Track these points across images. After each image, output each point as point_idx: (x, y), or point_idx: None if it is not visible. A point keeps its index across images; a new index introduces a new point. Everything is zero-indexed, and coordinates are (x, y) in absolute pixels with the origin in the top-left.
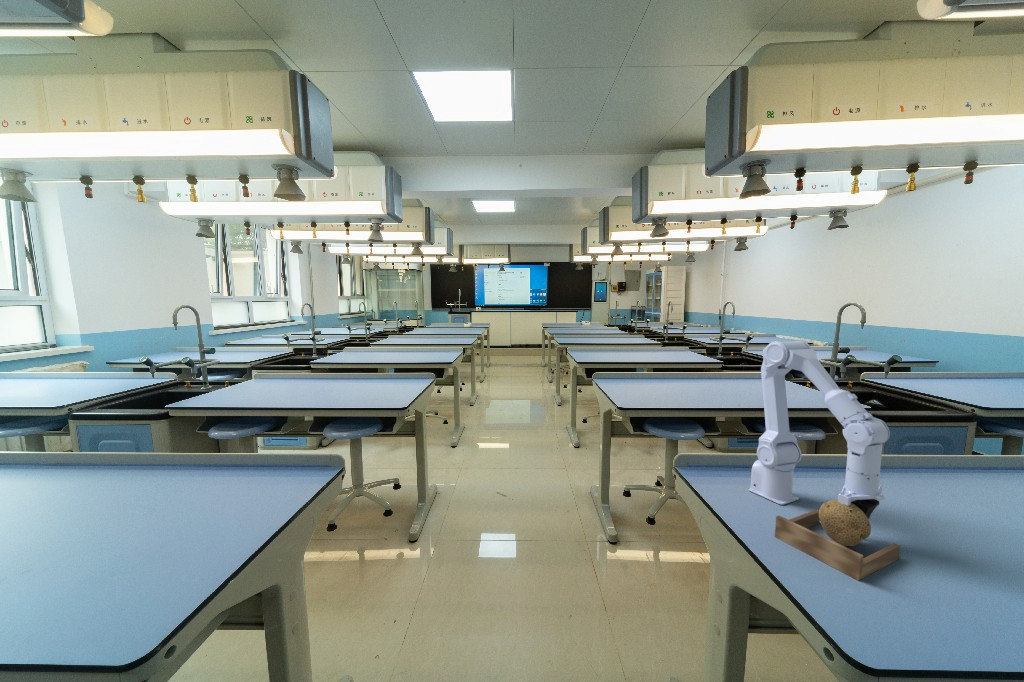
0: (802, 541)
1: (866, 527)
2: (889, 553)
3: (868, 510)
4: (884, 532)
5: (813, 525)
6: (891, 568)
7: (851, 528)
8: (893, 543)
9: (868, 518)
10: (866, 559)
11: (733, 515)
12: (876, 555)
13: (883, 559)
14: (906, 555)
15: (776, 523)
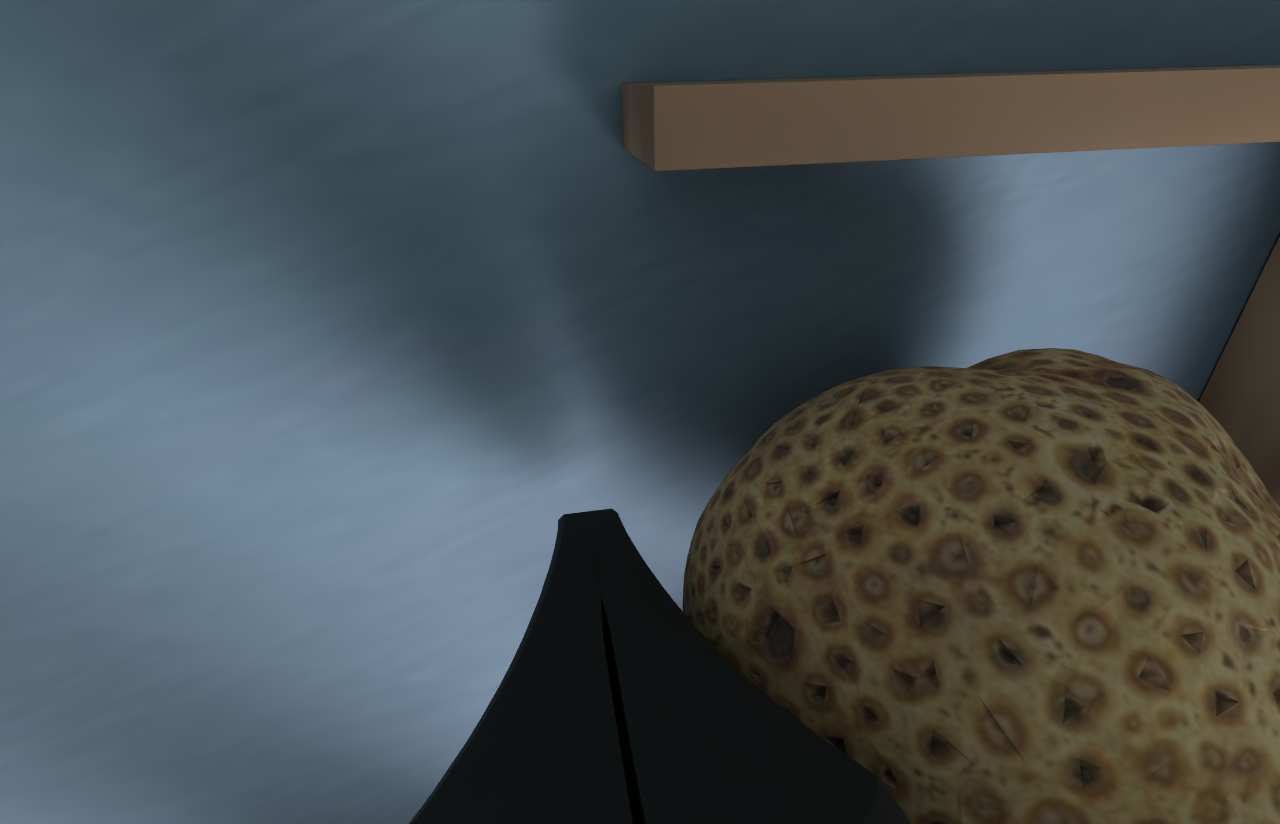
0: None
1: (1128, 437)
2: (954, 76)
3: (772, 739)
4: (148, 458)
5: None
6: (922, 19)
7: (1263, 487)
8: (684, 167)
9: (553, 610)
10: None
11: None
12: (1242, 98)
13: (1064, 72)
14: (430, 83)
15: None
